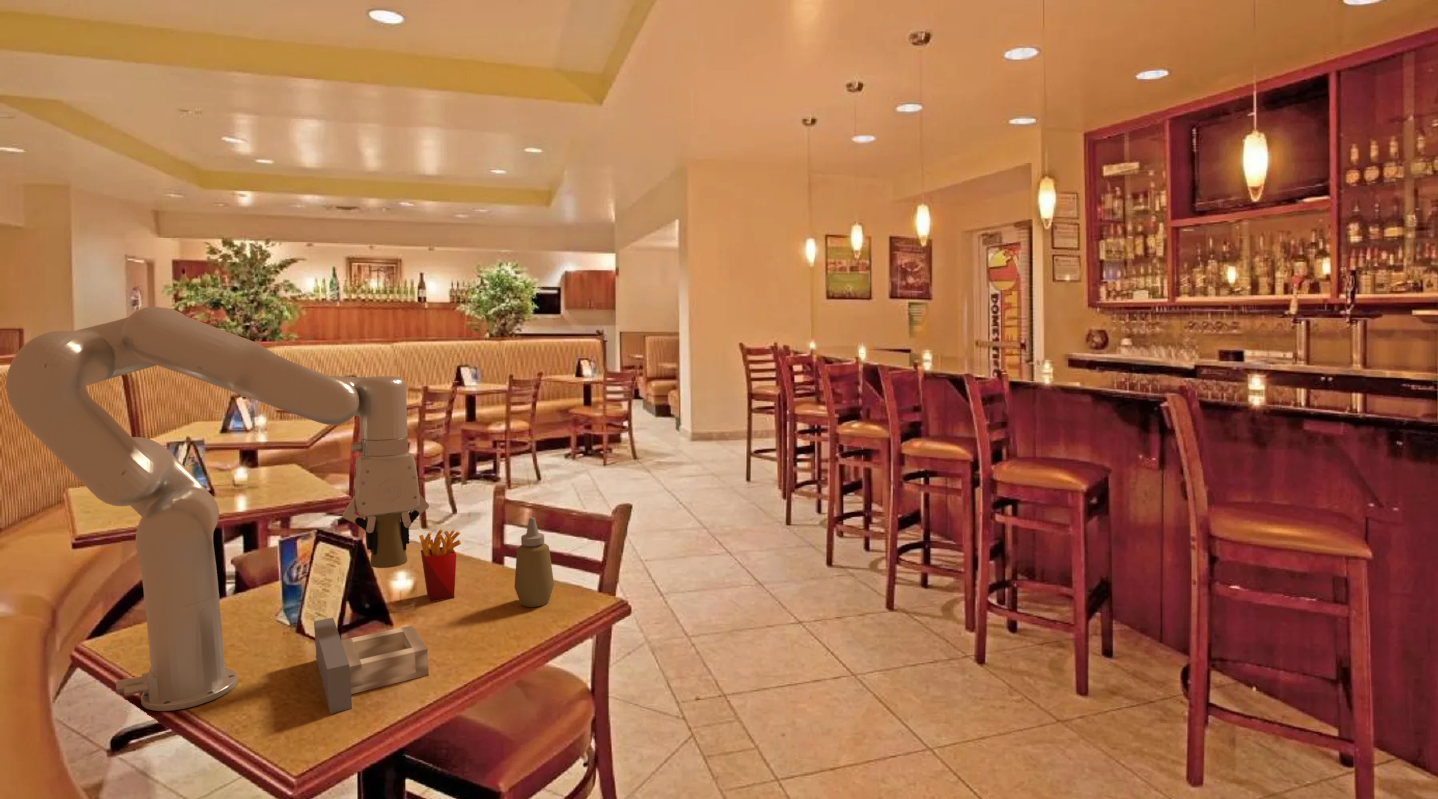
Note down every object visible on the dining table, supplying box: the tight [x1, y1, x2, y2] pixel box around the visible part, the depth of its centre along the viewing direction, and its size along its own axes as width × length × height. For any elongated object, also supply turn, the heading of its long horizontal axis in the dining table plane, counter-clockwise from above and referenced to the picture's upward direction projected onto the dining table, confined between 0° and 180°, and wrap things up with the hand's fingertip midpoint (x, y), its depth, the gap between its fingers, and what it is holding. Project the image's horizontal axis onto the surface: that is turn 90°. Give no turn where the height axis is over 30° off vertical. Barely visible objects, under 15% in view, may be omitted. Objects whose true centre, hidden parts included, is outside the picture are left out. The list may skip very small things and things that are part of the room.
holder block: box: [341, 624, 430, 695], centre depth 128 cm, size 12×12×4 cm
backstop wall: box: [313, 617, 353, 715], centre depth 124 cm, size 3×22×7 cm, turn 32°
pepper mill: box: [369, 513, 408, 569], centre depth 133 cm, size 6×6×11 cm
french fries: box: [418, 528, 462, 603], centre depth 162 cm, size 9×8×15 cm
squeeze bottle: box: [514, 517, 555, 608], centre depth 158 cm, size 8×8×18 cm
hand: (388, 549), depth 133 cm, fingers closed on pepper mill, 4 cm apart
